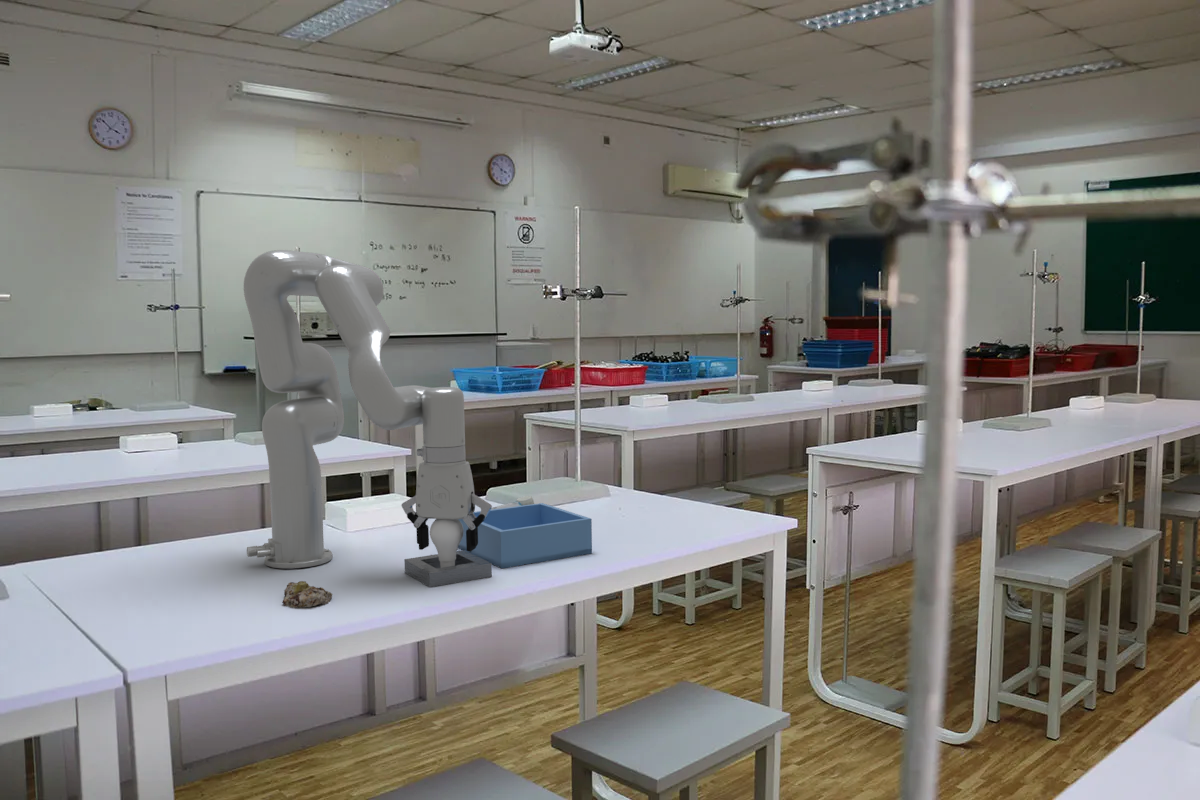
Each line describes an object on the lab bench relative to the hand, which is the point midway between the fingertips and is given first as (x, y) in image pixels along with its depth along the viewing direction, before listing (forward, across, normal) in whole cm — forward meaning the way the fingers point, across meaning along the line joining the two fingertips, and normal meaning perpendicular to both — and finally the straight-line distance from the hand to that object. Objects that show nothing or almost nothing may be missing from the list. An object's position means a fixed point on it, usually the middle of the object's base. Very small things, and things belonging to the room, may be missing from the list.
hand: (447, 548), depth 175 cm
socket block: (+5, 0, 0) cm, 5 cm away
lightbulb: (+5, 0, 0) cm, 5 cm away
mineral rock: (+5, -18, -19) cm, 27 cm away
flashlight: (+5, -4, +38) cm, 39 cm away
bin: (+5, +8, +20) cm, 22 cm away
